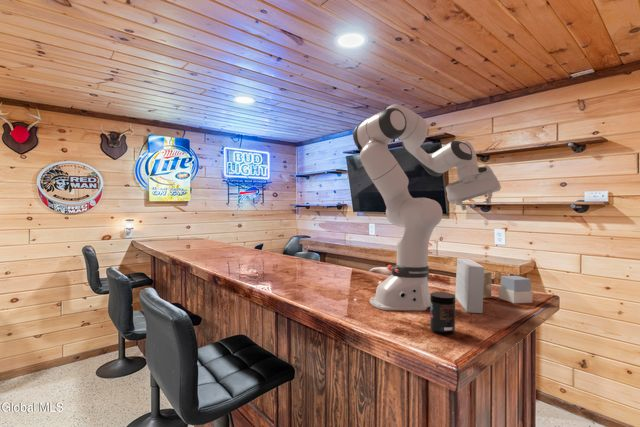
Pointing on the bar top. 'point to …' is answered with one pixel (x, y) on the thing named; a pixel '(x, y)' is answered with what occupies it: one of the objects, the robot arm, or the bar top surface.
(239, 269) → the bar top surface
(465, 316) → the bar top surface
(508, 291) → the base block
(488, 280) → the maple pillar
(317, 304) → the bar top surface
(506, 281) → the top block
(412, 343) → the bar top surface
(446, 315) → the supplement container
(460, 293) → the skincare box
